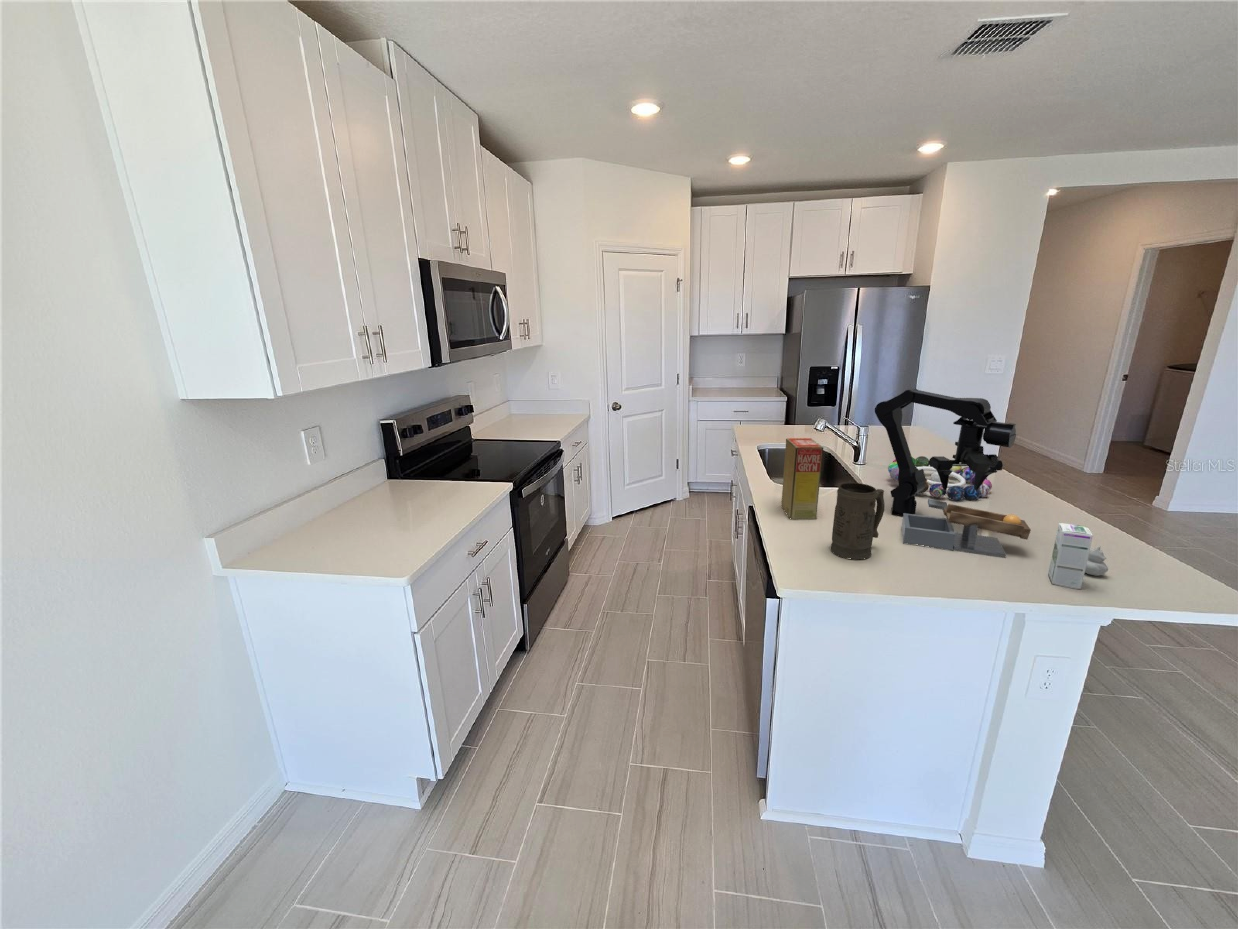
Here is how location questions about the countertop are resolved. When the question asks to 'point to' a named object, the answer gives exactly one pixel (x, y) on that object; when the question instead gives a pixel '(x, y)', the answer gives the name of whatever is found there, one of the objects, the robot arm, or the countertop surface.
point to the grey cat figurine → (1096, 563)
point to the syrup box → (1070, 555)
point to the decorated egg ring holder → (954, 490)
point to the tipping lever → (980, 519)
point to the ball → (1012, 519)
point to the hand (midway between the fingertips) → (960, 489)
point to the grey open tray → (927, 531)
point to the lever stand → (977, 542)
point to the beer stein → (856, 520)
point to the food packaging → (801, 478)
